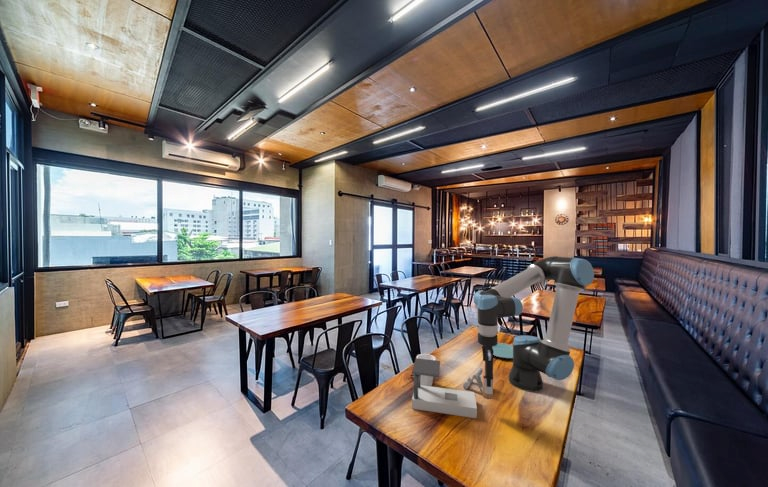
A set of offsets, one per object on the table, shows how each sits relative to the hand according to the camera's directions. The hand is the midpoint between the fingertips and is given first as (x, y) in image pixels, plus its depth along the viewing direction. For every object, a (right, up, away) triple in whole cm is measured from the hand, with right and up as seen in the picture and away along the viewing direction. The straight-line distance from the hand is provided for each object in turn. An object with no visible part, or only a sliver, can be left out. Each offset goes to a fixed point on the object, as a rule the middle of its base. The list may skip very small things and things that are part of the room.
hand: (487, 389), depth 114 cm
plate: (+31, -9, +59) cm, 68 cm away
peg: (0, -3, 0) cm, 3 cm away
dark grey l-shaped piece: (-24, -5, +8) cm, 26 cm away
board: (-17, -9, +6) cm, 20 cm away
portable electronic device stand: (+1, -10, +20) cm, 22 cm away
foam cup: (-22, -9, +23) cm, 33 cm away
